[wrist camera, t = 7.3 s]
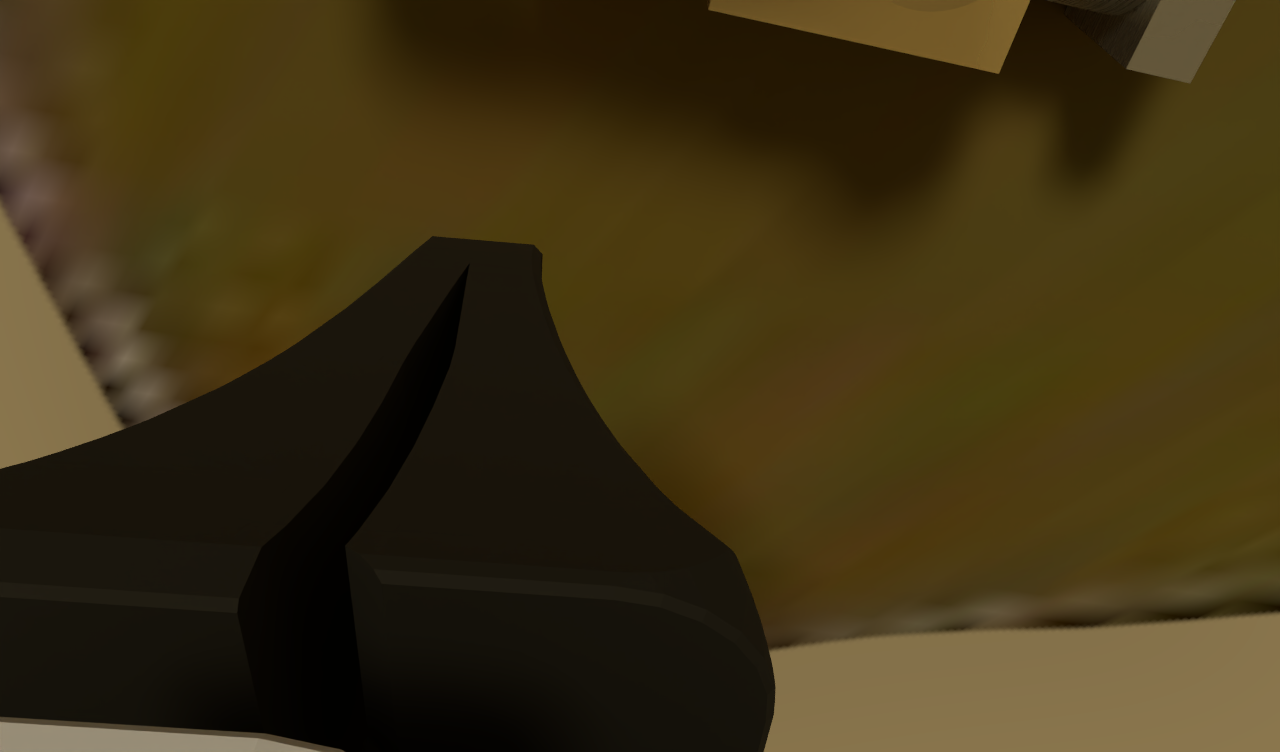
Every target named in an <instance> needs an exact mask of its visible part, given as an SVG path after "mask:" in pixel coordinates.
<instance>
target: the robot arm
mask: <svg viewBox="0 0 1280 752" xmlns="http://www.w3.org/2000/svg"><path fill="white" fill-rule="evenodd" d="M774 703H775V680H774V673H773V667H772V662H771V658H770V654H769V650H768V646H767V642H766V638H765V635H764V631H763V627H762V624H761V620H760V617H759V614H758V611H757V609H756V606H755V603H754V600H753V597H752V594H751V591H750V589H749V586H748V584H747V581H746V579H745V576H744V574H743V571H742V569H741V566H740V564H739V562H738V559H737V557H736V555H735V553H734V552H733V551H732V550H731V549H730V548H729V547H728V546H726V545H725V544H724V543H723V542H721V541H720V540H719V539H717V538H716V537H715V536H714V535H712V534H711V533H710V532H708V531H707V530H706V529H705V528H703V527H702V526H701V525H699V524H698V523H697V522H696V521H694V520H693V519H692V518H690V517H689V516H688V515H687V514H685V513H684V512H683V511H681V510H680V509H679V508H678V507H677V506H676V505H674V504H673V503H672V502H671V501H670V500H669V499H668V498H667V497H666V496H665V495H664V494H663V493H662V492H661V491H660V490H659V489H658V488H657V487H656V486H655V485H654V484H653V482H652V481H651V480H650V479H649V478H648V477H647V475H646V474H645V473H644V472H643V471H642V470H641V469H640V467H639V466H638V465H637V464H636V463H635V462H634V460H633V459H632V458H631V457H630V456H629V455H628V454H627V452H626V451H625V450H624V449H623V448H622V446H621V445H620V444H619V443H618V441H617V440H616V438H615V437H614V436H613V434H612V433H611V431H610V430H609V429H608V427H607V426H606V424H605V423H604V422H603V420H602V419H601V417H600V415H599V414H598V412H597V411H596V409H595V407H594V406H593V404H592V403H591V401H590V400H589V398H588V396H587V394H586V393H585V391H584V389H583V387H582V385H581V384H580V382H579V380H578V378H577V376H576V374H575V372H574V370H573V368H572V366H571V364H570V362H569V359H568V357H567V355H566V353H565V351H564V348H563V346H562V344H561V341H560V339H559V336H558V334H557V331H556V328H555V325H554V322H553V320H552V317H551V314H550V311H549V308H548V304H547V301H546V297H545V293H544V288H543V284H542V253H541V252H540V251H539V250H538V249H537V248H536V247H535V246H534V245H529V244H517V243H506V242H494V241H482V240H470V239H458V238H446V237H434V236H432V237H431V238H430V239H429V240H428V241H426V242H425V243H424V244H423V245H421V246H420V247H419V248H418V249H416V250H415V251H414V252H413V253H412V254H411V255H409V256H408V257H407V258H406V259H405V260H404V261H402V262H401V263H400V264H399V265H398V266H397V267H395V268H394V269H393V270H392V271H391V272H390V273H388V274H387V275H386V276H385V277H384V278H383V279H381V280H380V281H379V282H378V283H377V284H376V285H374V286H373V287H372V288H371V289H369V290H368V291H367V292H366V293H364V294H363V295H362V296H361V297H359V298H358V299H357V300H356V301H354V302H353V303H352V304H351V305H349V306H348V307H347V308H346V309H345V310H343V311H342V312H340V313H339V314H338V315H336V316H335V317H333V318H332V319H330V320H329V321H328V322H326V323H325V324H323V325H322V326H321V327H319V328H318V329H316V330H315V331H314V332H312V333H311V334H309V335H308V336H306V337H305V338H304V339H302V340H301V341H299V342H298V343H297V344H295V345H293V346H292V347H290V348H289V349H287V350H286V351H284V352H282V353H281V354H279V355H277V356H276V357H274V358H272V359H271V360H269V361H268V362H266V363H264V364H262V365H260V366H259V367H257V368H255V369H253V370H251V371H250V372H248V373H246V374H244V375H242V376H241V377H239V378H237V379H235V380H233V381H231V382H230V383H228V384H226V385H224V386H222V387H220V388H218V389H216V390H213V391H211V392H209V393H207V394H205V395H202V396H200V397H198V398H196V399H194V400H191V401H189V402H187V403H185V404H182V405H180V406H178V407H176V408H174V409H171V410H169V411H167V412H165V413H162V414H160V415H158V416H156V417H154V418H151V419H149V420H147V421H144V422H142V423H139V424H137V425H134V426H131V427H129V428H126V429H123V430H121V431H118V432H115V433H113V434H110V435H108V436H105V437H102V438H99V439H96V440H93V441H90V442H87V443H84V444H81V445H78V446H75V447H72V448H69V449H66V450H63V451H61V452H58V453H54V454H51V455H48V456H44V457H41V458H38V459H35V460H32V461H28V462H25V463H21V464H17V465H13V466H9V467H5V468H2V469H0V752H763V751H764V748H765V744H766V741H767V737H768V733H769V730H770V726H771V722H772V719H773V715H774Z"/></svg>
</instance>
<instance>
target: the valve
mask: <svg viewBox="0 0 1280 752" xmlns="http://www.w3.org/2000/svg"><path fill="white" fill-rule="evenodd" d="M1046 1H1051V2H1055V3H1059V4H1064V5H1068V6H1067V8H1066V11H1065V13H1064V15H1065V16H1066V17H1067V18H1069V19H1070V20H1071V21H1072V22H1073V23H1074V24H1075V25H1077V26H1078V27H1079V28H1080V29H1081V30H1082V31H1083V32H1085V33H1086V34H1087V35H1088V36H1089V37H1090V38H1091V39H1093V40H1094V41H1095V42H1096V43H1097V44H1098V45H1099V46H1100V47H1102V48H1103V49H1104V50H1105V51H1106V52H1107V53H1108V54H1110V55H1111V56H1112V57H1113V58H1114V59H1115V60H1116V61H1118V62H1119V63H1120V64H1121V65H1122V66H1123V67H1124V68H1125V69H1128V70H1133V71H1137V72H1142V73H1146V74H1151V75H1155V76H1160V77H1164V78H1168V79H1173V80H1177V81H1182V82H1186V83H1191V81H1192V79H1193V77H1194V76H1195V74H1196V72H1197V70H1198V68H1199V66H1200V65H1201V63H1202V61H1203V59H1204V57H1205V55H1206V54H1207V52H1208V50H1209V48H1210V46H1211V44H1212V43H1213V41H1214V39H1215V37H1216V35H1217V33H1218V32H1219V30H1220V28H1221V26H1222V24H1223V22H1224V21H1225V19H1226V17H1227V15H1228V13H1229V11H1230V10H1231V8H1232V6H1233V4H1234V2H1235V0H1046ZM1029 2H1030V0H977V1H975V2H973V3H970V4H968V5H965V6H962V7H959V8H956V9H951V10H946V11H935V12H927V11H917V10H912V9H908V8H905V7H902V6H899V5H897V4H894V3H893V2H891V1H889V0H707V4H708V10H711V11H716V12H720V13H725V14H729V15H734V16H738V17H743V18H748V19H752V20H757V21H761V22H766V23H770V24H775V25H779V26H784V27H788V28H793V29H798V30H802V31H807V32H811V33H816V34H820V35H825V36H829V37H834V38H838V39H843V40H848V41H852V42H857V43H861V44H866V45H870V46H875V47H879V48H884V49H888V50H893V51H897V52H902V53H907V54H911V55H916V56H920V57H925V58H929V59H934V60H938V61H943V62H947V63H952V64H957V65H961V66H966V67H970V68H975V69H979V70H984V71H988V72H993V73H997V74H999V72H1000V70H1001V67H1002V65H1003V63H1004V60H1005V58H1006V56H1007V53H1008V51H1009V49H1010V46H1011V44H1012V42H1013V39H1014V37H1015V35H1016V32H1017V30H1018V28H1019V25H1020V23H1021V21H1022V18H1023V16H1024V14H1025V11H1026V9H1027V7H1028V4H1029Z"/></svg>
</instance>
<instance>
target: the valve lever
mask: <svg viewBox="0 0 1280 752" xmlns="http://www.w3.org/2000/svg"><path fill="white" fill-rule="evenodd" d="M889 1H891V2H893V3H894V4H897V5H899V6H902V7H905V8H908V9H912V10H917V11H927V12H935V11H946V10H951V9H956V8H959V7H962V6H965V5H968V4H970V3H973V2H975V1H977V0H889Z"/></svg>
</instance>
